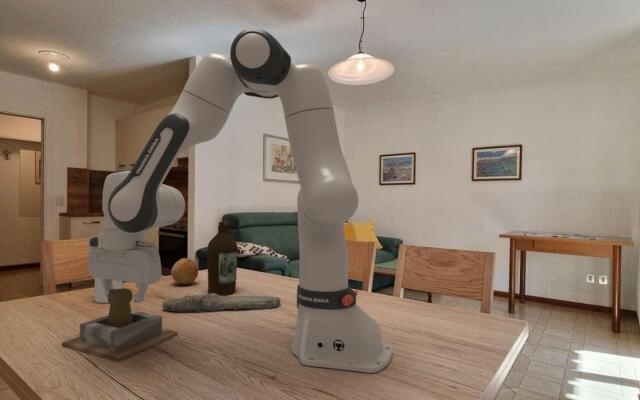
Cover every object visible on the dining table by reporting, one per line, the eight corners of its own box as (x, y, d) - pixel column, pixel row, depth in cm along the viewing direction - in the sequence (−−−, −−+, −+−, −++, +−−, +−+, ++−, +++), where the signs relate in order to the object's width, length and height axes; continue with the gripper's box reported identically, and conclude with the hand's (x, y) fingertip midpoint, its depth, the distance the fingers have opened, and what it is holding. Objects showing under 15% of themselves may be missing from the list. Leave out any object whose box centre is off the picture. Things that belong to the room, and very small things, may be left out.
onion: (165, 286, 136) (165, 260, 136) (180, 281, 146) (180, 256, 146) (189, 288, 134) (189, 261, 134) (202, 282, 144) (203, 257, 144)
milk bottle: (127, 299, 119) (127, 238, 119) (102, 305, 112) (103, 240, 112) (114, 295, 123) (114, 236, 123) (89, 300, 117) (90, 238, 116)
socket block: (177, 335, 89) (177, 315, 89) (118, 361, 75) (118, 338, 74) (125, 323, 96) (125, 305, 96) (62, 346, 82) (62, 324, 82)
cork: (120, 342, 82) (121, 293, 82) (98, 339, 84) (99, 291, 84) (139, 333, 88) (140, 287, 88) (119, 330, 90) (119, 285, 90)
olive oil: (200, 292, 130) (201, 221, 130) (227, 287, 137) (228, 220, 137) (215, 298, 122) (216, 223, 122) (243, 292, 129) (244, 222, 129)
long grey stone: (281, 315, 110) (278, 307, 120) (282, 298, 111) (279, 291, 120) (158, 314, 104) (165, 305, 114) (159, 295, 104) (167, 288, 114)
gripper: (168, 241, 84) (168, 301, 84) (107, 236, 92) (107, 291, 92) (145, 244, 78) (145, 308, 78) (82, 239, 86) (82, 297, 87)
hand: (124, 299), depth 85 cm, fingers open, 8 cm apart
